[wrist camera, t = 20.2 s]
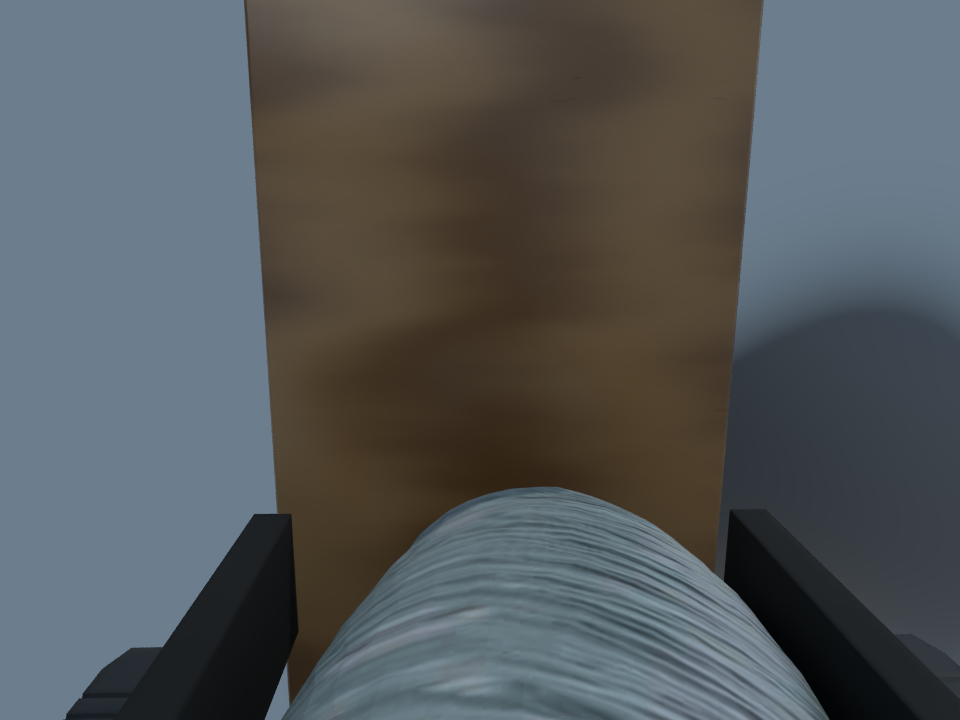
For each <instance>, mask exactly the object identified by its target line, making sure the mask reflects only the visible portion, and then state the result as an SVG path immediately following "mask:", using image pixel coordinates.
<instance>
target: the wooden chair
mask: <svg viewBox="0 0 960 720" xmlns="http://www.w3.org/2000/svg"><path fill="white" fill-rule="evenodd" d="M763 1H764V0H244V9H245V24H246V40H247V56H248V71H249V86H250V102H251V117H252V133H253V147H254V148H253V149H254V164H255V180H256V195H257V209H258V226H259V242H260V257H261V272H262V287H263V304H264V319H265V334H266V350H267V365H268V381H269V397H270V412H271V427H272V443H273V459H274V474H275V489H276V505H277V514H291V515H292V531H293V548H294V564H295V580H296V596H297V612H298V629H299V632H298V635H297V637H296V640H295V642H294V645H293V648H292V650H291V653H290V655H289V658H288V660H287V675H288V691H289V707H290V705H291V704H292V702H293V701H294V699H295V697H296V696H297V694H298V692H299V691H300V689H301V688H302V686H303V685H304V683H305V681H306V680H307V678H308V677H309V675H310V673H311V672H312V670H313V669H314V667H315V666H316V664H317V662H318V661H319V660H320V658H321V657H322V656H323V654H324V653H325V652H326V650H327V649H328V647H329V646H330V644H331V643H332V641H333V639H334V638H335V636H336V635H337V633H338V631H339V630H340V628H341V627H342V625H343V624H344V623H345V622H346V620H347V619H348V618H349V617H350V616H351V615H352V614H353V612H354V611H355V610H356V609H357V608H358V607H359V606H360V604H361V603H362V602H363V601H364V600H365V598H366V597H367V596H368V595H369V593H370V592H371V591H372V590H373V588H374V587H375V586H376V585H377V583H378V582H379V581H380V580H381V578H382V577H383V576H384V575H385V573H386V572H387V571H388V570H389V568H390V567H391V566H392V565H393V564H394V563H395V562H396V561H397V560H398V559H399V558H400V557H401V556H403V555H404V554H405V553H406V552H407V551H408V550H409V549H410V547H411V546H412V544H413V543H414V542H415V540H416V539H417V537H418V536H419V534H421V533H422V532H423V531H424V530H425V529H427V528H428V527H429V526H430V525H431V524H433V523H434V522H435V521H436V520H437V519H439V518H440V517H441V516H443V515H444V514H445V513H446V512H448V511H449V510H451V509H453V508H455V507H457V506H459V505H461V504H463V503H465V502H467V501H469V500H472V499H475V498H478V497H481V496H483V495H486V494H490V493H494V492H499V491H503V490H508V489H516V488H531V487H559V488H563V489H567V490H571V491H575V492H579V493H582V494H586V495H589V496H593V497H595V498H598V499H600V500H603V501H606V502H608V503H611V504H613V505H615V506H618V507H620V508H622V509H624V510H626V511H628V512H631V513H633V514H635V515H637V516H639V517H641V518H643V519H645V520H646V521H648V522H650V523H652V524H654V525H655V526H657V527H658V528H659V529H661V530H662V531H664V532H665V533H666V534H668V535H669V536H671V537H672V538H673V539H674V540H675V541H677V542H678V543H679V544H680V545H681V546H682V547H684V548H685V549H686V550H688V551H689V552H690V553H691V554H693V555H694V556H695V557H696V558H698V559H699V560H700V561H701V562H703V563H704V564H705V565H706V566H707V567H708V568H709V569H710V571H711V572H713V573H714V574H715V561H716V550H717V538H718V527H719V515H720V504H721V492H722V480H723V469H724V468H723V467H724V457H725V445H726V434H727V421H728V410H729V399H730V387H731V375H732V363H733V351H734V341H735V329H736V317H737V306H738V294H739V282H740V271H741V259H742V246H743V236H744V224H745V213H746V200H747V189H748V188H747V187H748V176H749V164H750V154H751V142H752V131H753V119H754V107H755V96H756V84H757V73H758V61H759V49H760V38H761V26H762V14H763V3H764V2H763Z"/></svg>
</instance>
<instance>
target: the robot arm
mask: <svg viewBox="0 0 960 720" xmlns="http://www.w3.org/2000/svg"><path fill="white" fill-rule="evenodd" d="M724 583H725V584H727V585H728V586H729V587H730V588H731V589H732V590H733V591H735V592H736V593H737V594H738V596H739V597H740V598H741V599H742V600H743V601H744V603H745V604H746V605H747V606H748V607H749V608H750V610H751V611H752V612H753V613H754V615H755V616H756V617H757V619H758V620H759V621H760V622H761V624H762V625H763V626H764V628H765V629H766V630H767V632H768V633H769V634H770V636H771V637H772V638H773V639H774V641H775V642H776V643H777V644H778V646H779V647H780V648H781V649H782V651H783V652H784V653H785V654H786V655H787V657H788V658H789V659H790V660H791V662H792V663H793V664H794V665H795V666H796V668H797V669H798V670H799V671H800V673H801V674H802V675H803V677H804V679H805V680H806V682H807V683H808V685H809V687H810V688H811V690H812V692H813V693H814V695H815V696H816V698H817V700H818V701H819V703H820V705H821V706H822V708H823V709H824V711H825V713H826V714H827V716H828V718H829V719H830V720H960V666H959V665H957V664H956V663H955V662H954V661H953V660H952V659H951V658H950V657H949V656H947V655H946V654H945V653H943V652H942V651H940V650H938V649H937V648H935V647H933V646H931V645H930V644H928V643H926V642H924V641H923V640H921V639H919V638H918V637H916V636H914V635H912V634H900V635H897V634H896V635H894V634H893V633H892V632H891V631H889V629H887V627H886V626H885V625H884V624H882V622H880V621H879V620H878V619H877V618H876V617H875V616H874V615H873V614H872V613H871V612H870V611H869V610H868V609H867V608H866V607H865V606H864V605H863V604H862V603H861V602H860V601H859V600H858V599H857V598H856V597H855V596H854V595H853V594H852V593H851V592H850V591H849V590H848V589H847V588H846V587H845V586H844V585H842V583H841V582H840V581H839V580H837V578H835V577H834V576H833V575H832V574H831V573H830V572H829V571H828V570H827V569H826V568H825V567H824V566H823V565H822V564H821V563H820V562H819V561H818V560H817V559H816V558H815V557H814V556H813V555H812V554H811V553H810V552H809V551H808V550H807V549H806V548H805V547H804V546H803V545H802V544H801V543H800V542H799V541H798V540H797V539H796V538H795V537H794V536H792V534H791V533H790V532H788V531H787V530H786V529H785V528H784V527H783V526H782V525H781V524H780V523H779V522H778V521H777V520H776V519H775V518H774V517H773V516H772V515H771V514H770V513H769V512H768V511H767V510H766V509H743V510H742V509H738V510H730V516H729V527H728V539H727V551H726V562H725V573H724ZM298 632H299V629H298V612H297V596H296V580H295V564H294V548H293V531H292V515H291V514H254V515H253V517H252V518H251V520H250V521H249V523H248V524H247V526H246V527H245V529H244V530H243V531H242V533H241V534H240V536H239V537H238V539H237V540H236V542H235V543H234V545H233V546H232V547H231V549H230V550H229V552H228V553H227V555H226V556H225V558H224V559H223V561H222V562H221V563H220V565H219V566H218V568H217V569H216V571H215V572H214V574H213V575H212V576H211V578H210V579H209V581H208V582H207V584H206V585H205V587H204V588H203V590H202V591H201V593H200V594H199V595H198V597H197V599H196V600H195V601H194V603H193V604H192V606H191V607H190V609H189V610H188V611H187V613H186V614H185V616H184V617H183V619H182V620H181V622H180V623H179V625H178V626H177V627H176V629H175V631H174V632H173V633H172V635H171V636H170V638H169V639H168V641H167V642H166V643H165V645H164V646H163V647H155V648H131V649H129V650H128V651H126V652H125V653H124V654H122V655H121V656H120V657H118V658H117V659H115V660H114V661H113V662H111V663H110V664H108V665H107V666H106V667H104V668H103V669H102V670H101V671H100V673H99V674H98V675H97V676H96V677H95V679H94V680H93V681H92V683H91V684H90V685H89V686H88V688H87V689H86V690H85V691H84V693H83V696H82V699H78V701H77V702H76V703H75V704H74V705H73V707H72V708H71V709H70V711H69V712H68V713H67V715H66V719H65V720H265V717H266V715H267V712H268V709H269V707H270V704H271V702H272V699H273V696H274V694H275V691H276V689H277V686H278V684H279V681H280V678H281V676H282V673H283V671H284V668H285V666H286V663H287V660H288V658H289V655H290V653H291V650H292V648H293V645H294V642H295V640H296V637H297V635H298Z"/></svg>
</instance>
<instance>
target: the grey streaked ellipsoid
mask: <svg viewBox="0 0 960 720" xmlns="http://www.w3.org/2000/svg"><path fill="white" fill-rule="evenodd" d="M282 720H830V719H829V718H828V716H827V714H826V713H825V711H824V709H823V708H822V706H821V705H820V703H819V701H818V700H817V698H816V696H815V695H814V693H813V692H812V690H811V688H810V687H809V685H808V683H807V682H806V680H805V679H804V677H803V675H802V674H801V673H800V671H799V670H798V669H797V668H796V666H795V665H794V664H793V663H792V662H791V660H790V659H789V658H788V657H787V655H786V654H785V653H784V652H783V651H782V649H781V648H780V647H779V646H778V644H777V643H776V642H775V641H774V639H773V638H772V637H771V636H770V634H769V633H768V632H767V630H766V629H765V628H764V626H763V625H762V624H761V622H760V621H759V620H758V619H757V617H756V616H755V615H754V613H753V612H752V611H751V610H750V608H749V607H748V606H747V605H746V604H745V603H744V601H743V600H742V599H741V598H740V597H739V596H738V594H737V593H736V592H735V591H733V590H732V589H731V588H730V587H729V586H728V585H727V584H725V583H724V582H723V581H722V580H721V579H720V578H718V577H717V576H716V575H715V574H714V573H713V572H711V571H710V569H709V568H708V567H707V566H706V565H705V564H704V563H703V562H701V561H700V560H699V559H698V558H696V557H695V556H694V555H693V554H691V553H690V552H689V551H688V550H686V549H685V548H684V547H682V546H681V545H680V544H679V543H678V542H677V541H675V540H674V539H673V538H672V537H671V536H669V535H668V534H666V533H665V532H664V531H662V530H661V529H659V528H658V527H657V526H655V525H654V524H652V523H650V522H648V521H646V520H645V519H643V518H641V517H639V516H637V515H635V514H633V513H631V512H628V511H626V510H624V509H622V508H620V507H618V506H615V505H613V504H611V503H608V502H606V501H603V500H600V499H598V498H595V497H593V496H589V495H586V494H582V493H579V492H575V491H571V490H567V489H563V488H559V487H531V488H516V489H508V490H503V491H499V492H494V493H490V494H486V495H483V496H481V497H478V498H475V499H472V500H469V501H467V502H465V503H463V504H461V505H459V506H457V507H455V508H453V509H451V510H449V511H448V512H446V513H445V514H444V515H443V516H441V517H440V518H439V519H437V520H436V521H435V522H434V523H433V524H431V525H430V526H429V527H428V528H427V529H425V530H424V531H423V532H422V533H421V534H419V536H418V537H417V539H416V540H415V542H414V543H413V544H412V546H411V547H410V549H409V550H408V551H407V552H406V553H405V554H404V555H403V556H401V557H400V558H399V559H398V560H397V561H396V562H395V563H394V564H393V565H392V566H391V567H390V568H389V570H388V571H387V572H386V573H385V575H384V576H383V577H382V578H381V580H380V581H379V582H378V583H377V585H376V586H375V587H374V588H373V590H372V591H371V592H370V593H369V595H368V596H367V597H366V598H365V600H364V601H363V602H362V603H361V604H360V606H359V607H358V608H357V609H356V610H355V611H354V612H353V614H352V615H351V616H350V617H349V618H348V619H347V620H346V622H345V623H344V624H343V625H342V627H341V628H340V630H339V631H338V633H337V635H336V636H335V638H334V639H333V641H332V643H331V644H330V646H329V647H328V649H327V650H326V652H325V653H324V654H323V656H322V657H321V658H320V660H319V661H318V662H317V664H316V666H315V667H314V669H313V670H312V672H311V673H310V675H309V677H308V678H307V680H306V681H305V683H304V685H303V686H302V688H301V689H300V691H299V692H298V694H297V696H296V697H295V699H294V701H293V702H292V704H291V705H290V707H289V709H288V710H287V712H286V713H285V715H284V717H283V718H282Z"/></svg>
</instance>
